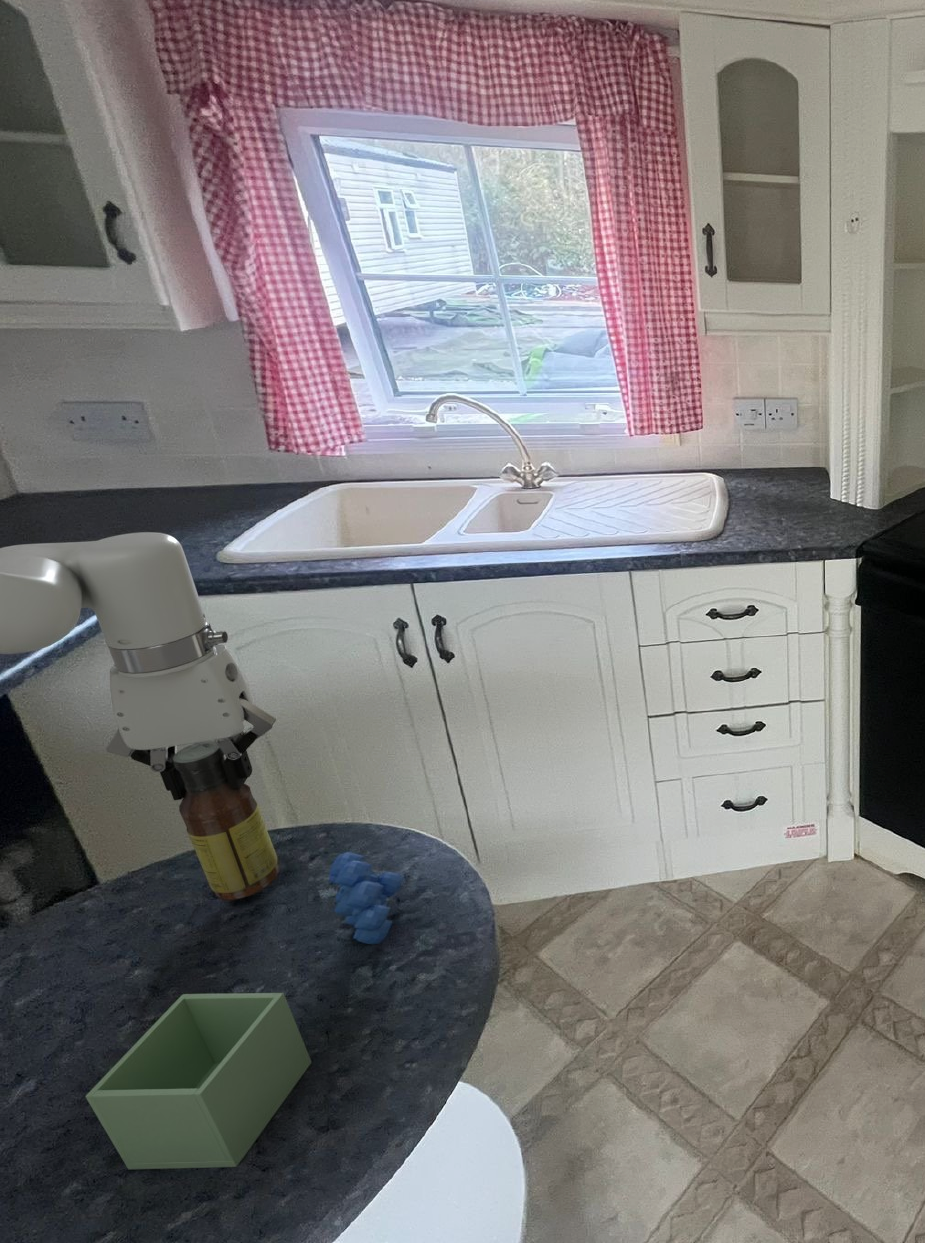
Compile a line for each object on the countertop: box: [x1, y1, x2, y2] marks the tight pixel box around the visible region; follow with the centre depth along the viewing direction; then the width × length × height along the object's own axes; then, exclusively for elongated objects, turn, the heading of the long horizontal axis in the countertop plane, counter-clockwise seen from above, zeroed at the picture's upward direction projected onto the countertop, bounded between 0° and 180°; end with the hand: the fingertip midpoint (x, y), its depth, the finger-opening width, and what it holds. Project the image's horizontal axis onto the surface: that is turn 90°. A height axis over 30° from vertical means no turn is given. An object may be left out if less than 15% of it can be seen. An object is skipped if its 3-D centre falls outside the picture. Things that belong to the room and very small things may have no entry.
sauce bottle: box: [173, 740, 280, 902], centre depth 88 cm, size 7×6×20 cm
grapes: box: [328, 851, 405, 945], centre depth 85 cm, size 12×7×12 cm, turn 51°
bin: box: [84, 992, 312, 1170], centre depth 67 cm, size 9×9×10 cm
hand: (212, 786), depth 86 cm, fingers closed on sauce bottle, 4 cm apart
